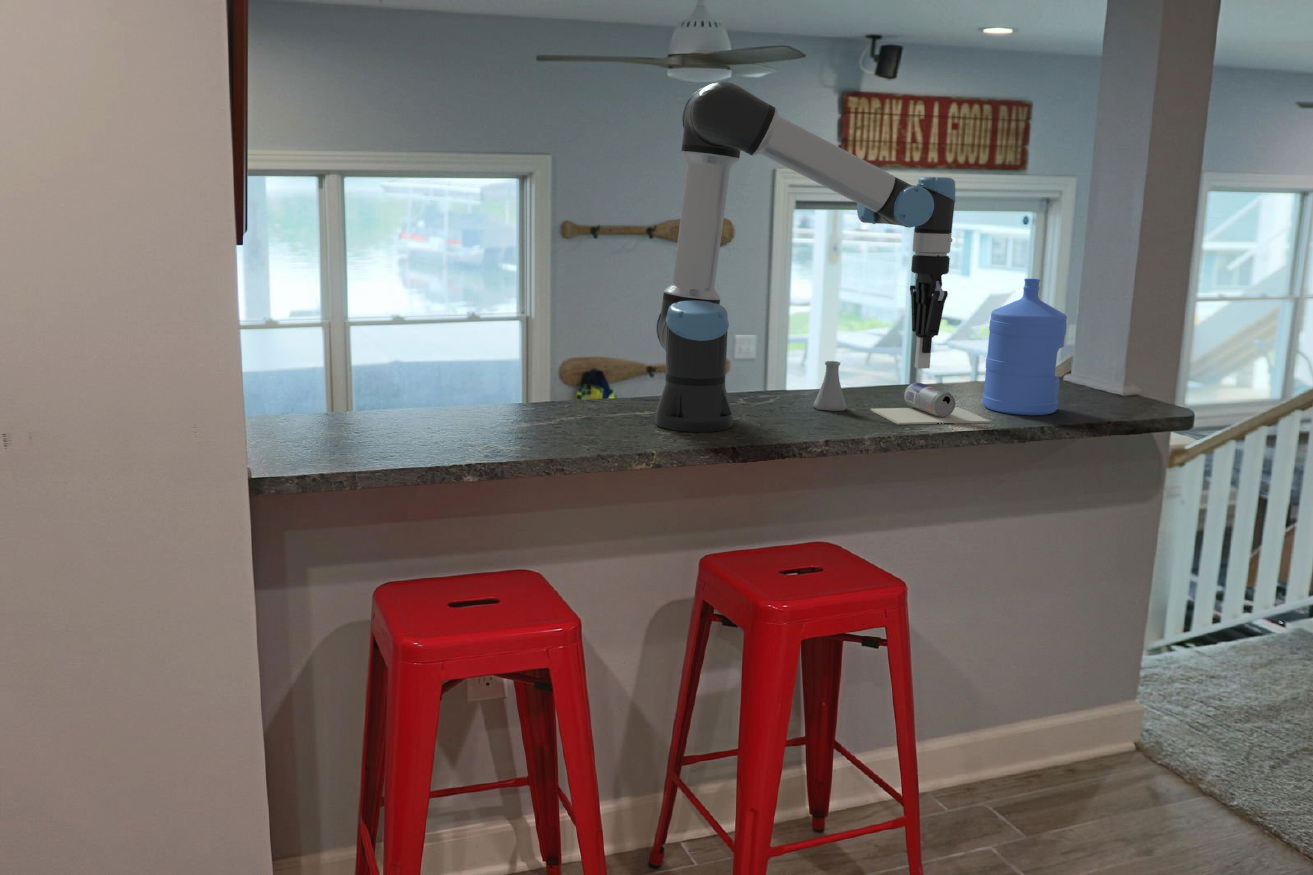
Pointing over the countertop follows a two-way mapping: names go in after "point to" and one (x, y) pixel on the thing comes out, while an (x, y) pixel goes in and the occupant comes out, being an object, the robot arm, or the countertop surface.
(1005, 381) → the water jug
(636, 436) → the countertop surface
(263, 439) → the countertop surface
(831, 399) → the flask
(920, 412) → the mat
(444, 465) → the countertop surface
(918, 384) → the energy drink
